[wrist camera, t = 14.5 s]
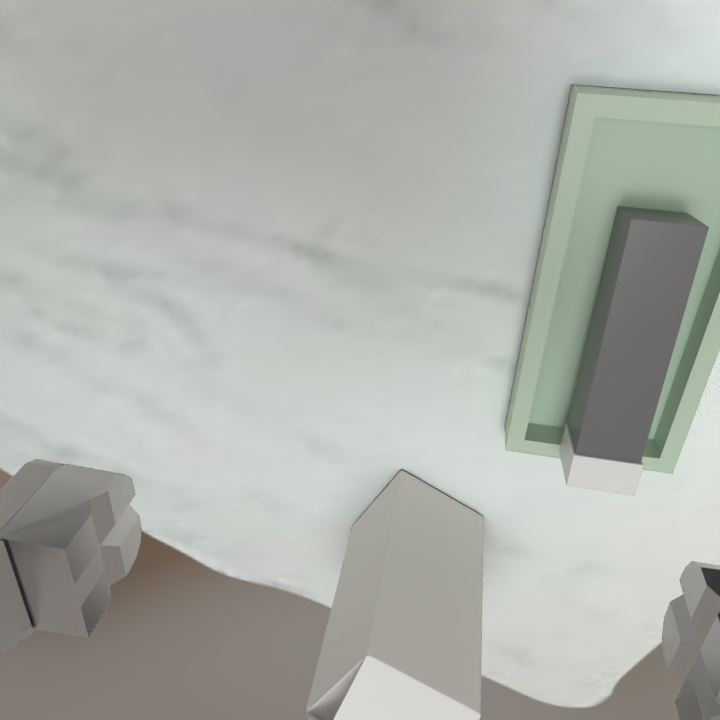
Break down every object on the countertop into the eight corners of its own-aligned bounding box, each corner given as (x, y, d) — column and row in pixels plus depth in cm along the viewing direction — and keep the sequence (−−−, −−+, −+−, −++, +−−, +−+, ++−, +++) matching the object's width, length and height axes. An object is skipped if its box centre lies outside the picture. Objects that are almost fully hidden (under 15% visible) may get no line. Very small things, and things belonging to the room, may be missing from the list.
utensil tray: (504, 426, 43) (505, 450, 41) (572, 84, 32) (577, 92, 30) (663, 448, 42) (672, 473, 40) (788, 100, 31) (809, 109, 29)
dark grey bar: (615, 205, 34) (630, 219, 31) (689, 213, 34) (712, 228, 31) (559, 451, 41) (566, 485, 37) (621, 460, 40) (634, 495, 37)
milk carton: (401, 467, 47) (353, 731, 31) (484, 515, 48) (480, 796, 32) (351, 524, 50) (286, 787, 34) (430, 568, 51) (401, 843, 35)
